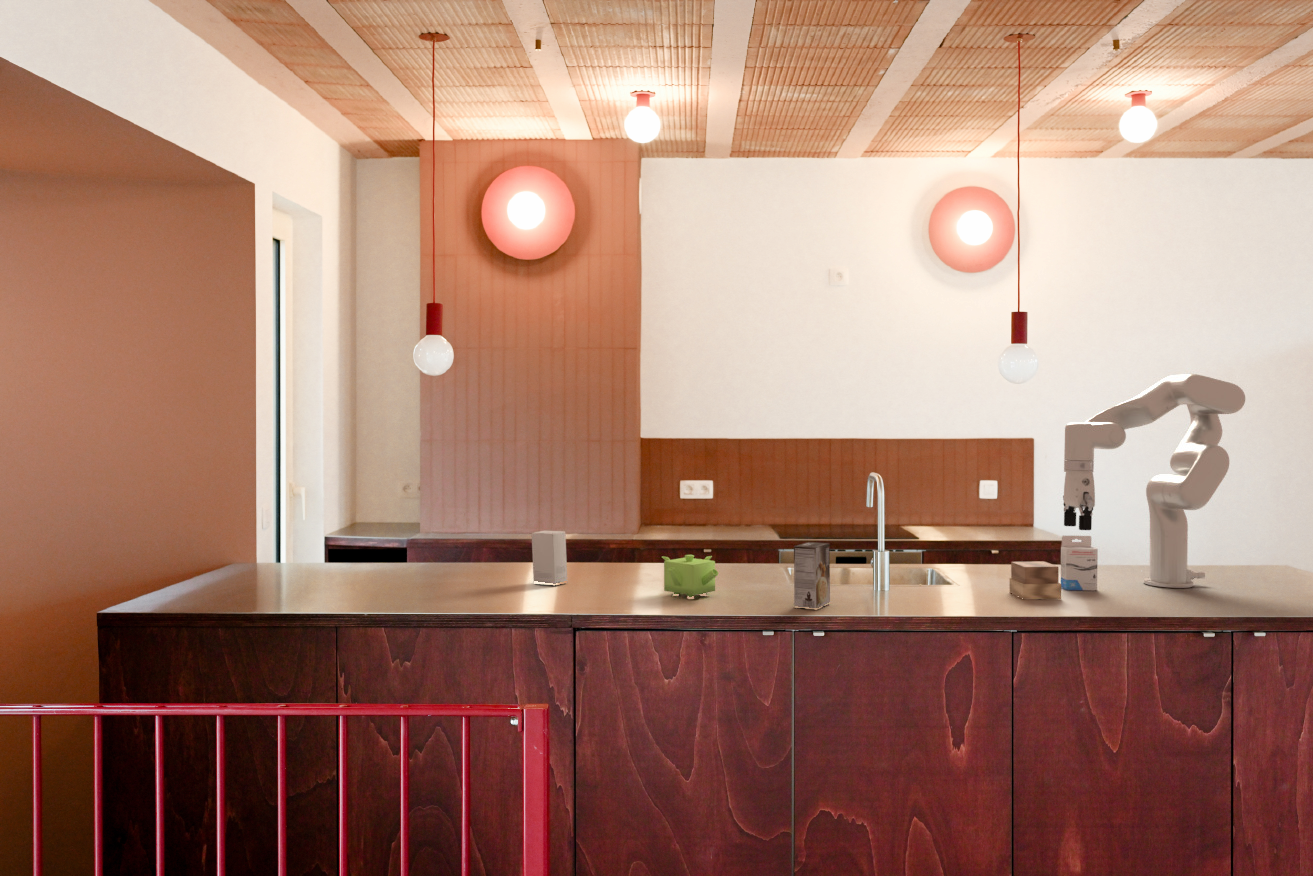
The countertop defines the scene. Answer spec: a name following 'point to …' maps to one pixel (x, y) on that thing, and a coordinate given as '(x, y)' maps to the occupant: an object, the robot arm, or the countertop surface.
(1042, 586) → the tower base
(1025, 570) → the tower top
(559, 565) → the skincare box
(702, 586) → the kettle
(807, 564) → the coffee box
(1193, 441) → the robot arm
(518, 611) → the countertop surface
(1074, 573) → the ink box
